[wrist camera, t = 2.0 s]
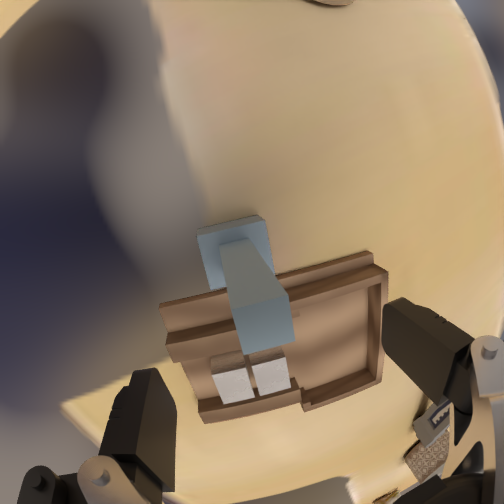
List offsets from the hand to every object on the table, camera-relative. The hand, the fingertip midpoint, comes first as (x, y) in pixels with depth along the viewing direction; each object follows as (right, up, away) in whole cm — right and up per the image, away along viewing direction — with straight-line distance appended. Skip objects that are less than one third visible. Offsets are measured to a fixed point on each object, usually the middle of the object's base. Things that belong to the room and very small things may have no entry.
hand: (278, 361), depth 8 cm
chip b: (+1, -7, +17) cm, 18 cm away
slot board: (+2, -6, +18) cm, 19 cm away
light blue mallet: (-2, +4, +14) cm, 15 cm away
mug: (+47, -78, +45) cm, 102 cm away
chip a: (-3, -8, +16) cm, 18 cm away
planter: (+41, -43, +35) cm, 69 cm away
